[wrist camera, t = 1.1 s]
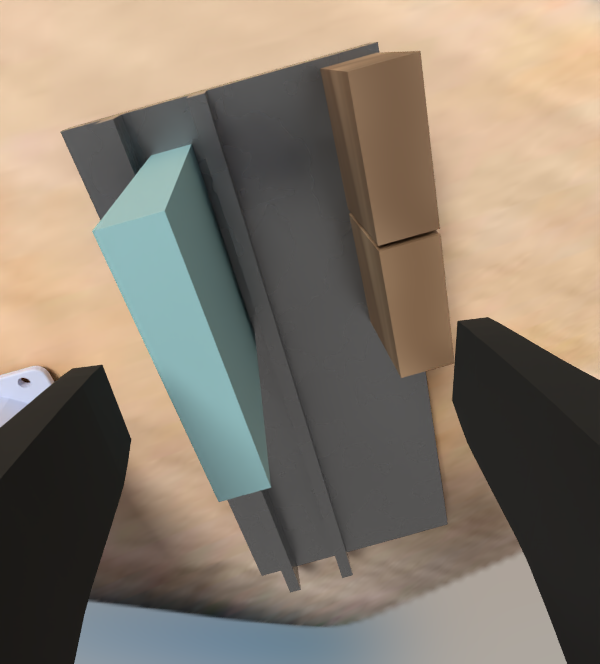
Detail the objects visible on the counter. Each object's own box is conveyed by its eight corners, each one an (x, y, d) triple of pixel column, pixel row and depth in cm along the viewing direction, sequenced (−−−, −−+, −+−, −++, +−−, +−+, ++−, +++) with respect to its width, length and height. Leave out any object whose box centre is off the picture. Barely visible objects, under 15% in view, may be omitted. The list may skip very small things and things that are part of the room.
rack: (260, 560, 30) (263, 599, 28) (68, 128, 18) (46, 137, 16) (441, 510, 30) (457, 546, 28) (370, 42, 18) (390, 40, 16)
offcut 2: (370, 321, 22) (401, 378, 18) (348, 213, 20) (379, 251, 16) (414, 309, 22) (454, 363, 18) (398, 199, 20) (440, 234, 16)
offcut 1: (347, 208, 20) (378, 246, 16) (320, 68, 17) (347, 71, 13) (397, 194, 20) (440, 228, 16) (376, 52, 17) (420, 51, 13)
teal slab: (221, 342, 22) (218, 502, 14) (150, 155, 18) (92, 231, 10) (255, 333, 22) (271, 487, 14) (191, 144, 18) (164, 211, 10)
